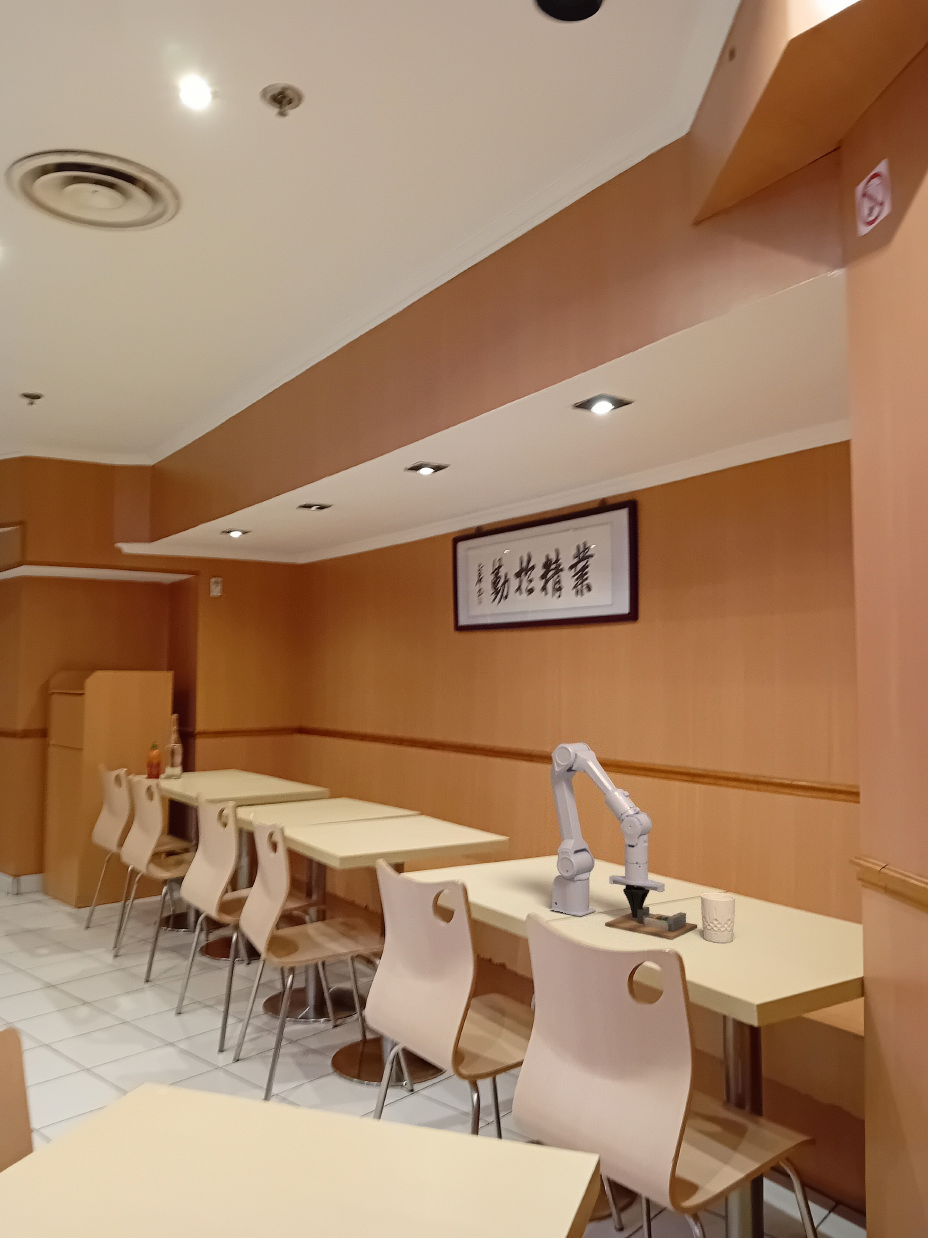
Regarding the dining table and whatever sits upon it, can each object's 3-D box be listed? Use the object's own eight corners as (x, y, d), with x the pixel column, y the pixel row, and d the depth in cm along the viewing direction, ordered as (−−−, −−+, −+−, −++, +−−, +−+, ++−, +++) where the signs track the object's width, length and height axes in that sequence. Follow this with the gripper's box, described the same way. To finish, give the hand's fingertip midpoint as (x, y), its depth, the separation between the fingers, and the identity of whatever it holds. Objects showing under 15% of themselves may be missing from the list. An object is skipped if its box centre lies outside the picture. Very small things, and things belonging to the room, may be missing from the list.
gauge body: (644, 926, 221) (644, 913, 222) (657, 921, 227) (657, 908, 227) (673, 932, 217) (673, 918, 217) (686, 926, 222) (686, 913, 222)
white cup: (736, 945, 209) (736, 901, 210) (701, 942, 211) (701, 899, 212) (733, 936, 217) (733, 893, 218) (700, 933, 219) (699, 891, 219)
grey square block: (633, 924, 223) (633, 910, 223) (645, 919, 227) (645, 906, 228) (656, 928, 219) (656, 915, 219) (667, 923, 223) (667, 910, 224)
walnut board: (605, 926, 224) (605, 922, 224) (632, 915, 235) (632, 912, 235) (671, 940, 213) (671, 936, 213) (697, 928, 224) (697, 924, 224)
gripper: (670, 863, 226) (670, 919, 225) (618, 856, 235) (618, 909, 234) (656, 867, 221) (657, 924, 220) (605, 859, 230) (605, 914, 229)
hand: (636, 917), depth 227 cm, fingers closed
